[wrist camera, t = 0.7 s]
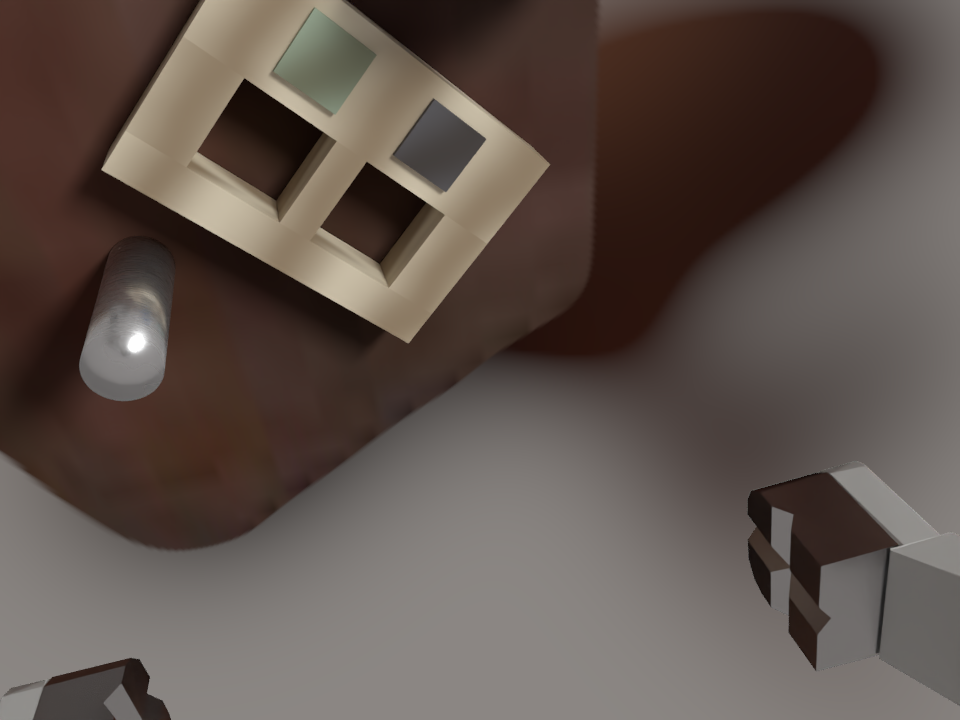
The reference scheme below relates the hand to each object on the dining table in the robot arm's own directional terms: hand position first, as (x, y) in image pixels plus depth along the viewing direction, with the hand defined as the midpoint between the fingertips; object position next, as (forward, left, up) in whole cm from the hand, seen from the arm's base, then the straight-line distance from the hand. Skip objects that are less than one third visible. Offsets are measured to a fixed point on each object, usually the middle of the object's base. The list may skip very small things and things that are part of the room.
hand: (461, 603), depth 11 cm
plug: (0, -13, -34) cm, 36 cm away
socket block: (+4, -2, -34) cm, 34 cm away
